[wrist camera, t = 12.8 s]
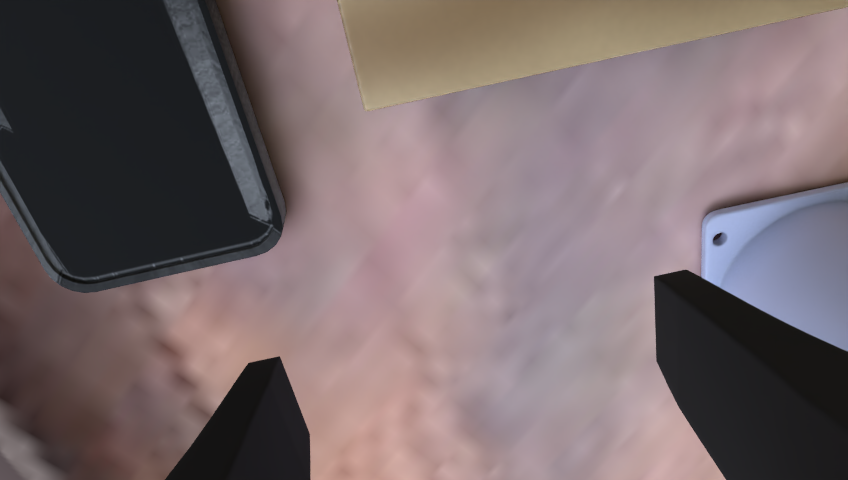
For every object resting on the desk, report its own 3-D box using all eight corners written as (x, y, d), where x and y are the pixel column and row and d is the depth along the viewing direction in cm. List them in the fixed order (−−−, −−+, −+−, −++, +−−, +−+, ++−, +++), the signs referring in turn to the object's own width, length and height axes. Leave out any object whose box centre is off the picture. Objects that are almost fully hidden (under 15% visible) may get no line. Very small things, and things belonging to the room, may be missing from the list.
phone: (84, -343, 14) (292, 248, 21) (102, -328, 15) (295, 232, 22) (-264, -257, 14) (58, 300, 22) (-223, -247, 15) (70, 282, 23)
